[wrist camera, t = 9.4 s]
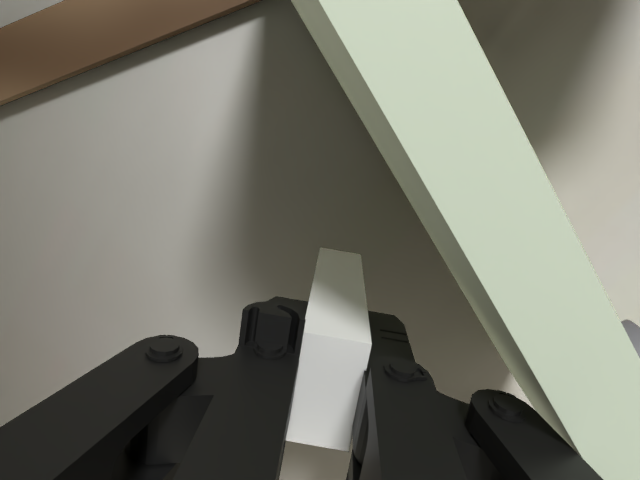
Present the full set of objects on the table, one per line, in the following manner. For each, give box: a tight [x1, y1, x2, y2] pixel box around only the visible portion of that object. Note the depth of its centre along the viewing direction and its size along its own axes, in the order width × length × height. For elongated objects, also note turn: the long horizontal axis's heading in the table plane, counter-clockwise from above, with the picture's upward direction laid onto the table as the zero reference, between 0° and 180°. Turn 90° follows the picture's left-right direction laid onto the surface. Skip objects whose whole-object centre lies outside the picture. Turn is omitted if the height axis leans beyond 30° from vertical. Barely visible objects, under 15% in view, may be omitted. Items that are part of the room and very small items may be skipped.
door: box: [291, 0, 640, 480], centre depth 10 cm, size 18×3×10 cm, turn 32°
